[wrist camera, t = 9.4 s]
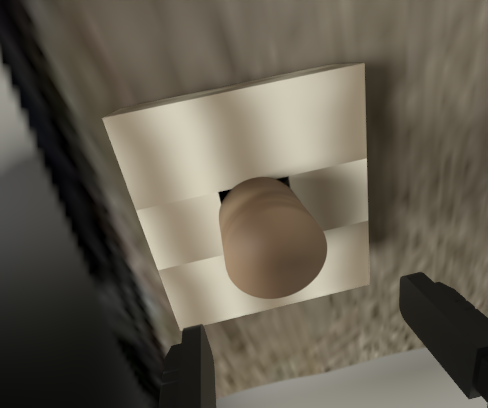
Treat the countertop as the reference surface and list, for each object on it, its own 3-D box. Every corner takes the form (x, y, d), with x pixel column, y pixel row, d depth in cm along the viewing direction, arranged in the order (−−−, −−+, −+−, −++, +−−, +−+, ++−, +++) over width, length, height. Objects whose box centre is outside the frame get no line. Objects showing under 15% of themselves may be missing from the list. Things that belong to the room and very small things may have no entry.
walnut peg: (277, 151, 24) (323, 198, 15) (286, 214, 26) (330, 285, 17) (208, 167, 24) (214, 223, 15) (223, 228, 26) (236, 309, 17)
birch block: (330, 64, 22) (364, 62, 18) (342, 250, 29) (369, 284, 24) (122, 107, 22) (102, 118, 17) (183, 288, 28) (180, 331, 24)
